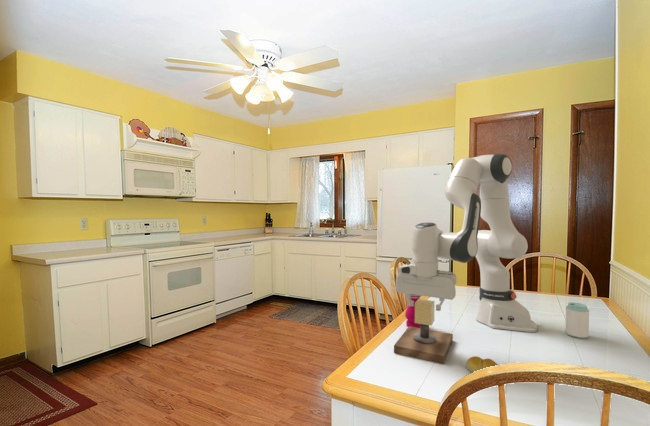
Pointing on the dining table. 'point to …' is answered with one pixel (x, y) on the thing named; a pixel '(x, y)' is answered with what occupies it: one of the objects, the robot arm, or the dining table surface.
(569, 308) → the can
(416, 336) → the walnut board
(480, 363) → the bread roll
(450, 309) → the dining table surface
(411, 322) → the pepper mill
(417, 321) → the wooden cube block
